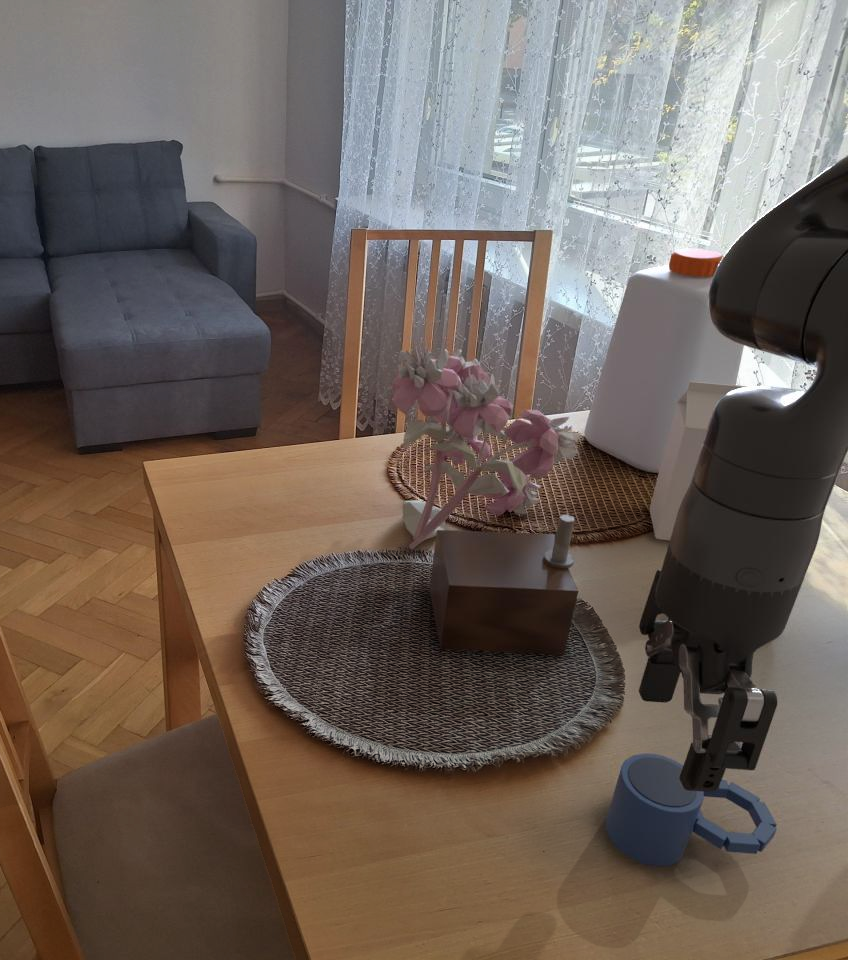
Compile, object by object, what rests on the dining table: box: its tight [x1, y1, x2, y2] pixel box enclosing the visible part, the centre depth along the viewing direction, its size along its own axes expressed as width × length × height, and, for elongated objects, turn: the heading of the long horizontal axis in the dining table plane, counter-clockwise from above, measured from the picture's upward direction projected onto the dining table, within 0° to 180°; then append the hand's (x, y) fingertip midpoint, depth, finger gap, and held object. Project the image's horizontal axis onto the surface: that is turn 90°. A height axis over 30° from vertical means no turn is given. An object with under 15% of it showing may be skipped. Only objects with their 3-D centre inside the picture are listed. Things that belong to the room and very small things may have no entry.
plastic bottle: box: [583, 247, 745, 474], centre depth 116 cm, size 15×15×28 cm
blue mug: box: [605, 752, 777, 867], centre depth 65 cm, size 11×6×6 cm, turn 83°
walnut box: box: [429, 514, 579, 656], centre depth 87 cm, size 13×10×13 cm
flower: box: [391, 340, 583, 550], centre depth 102 cm, size 20×22×25 cm
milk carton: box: [649, 381, 750, 542], centre depth 100 cm, size 7×7×19 cm
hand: (673, 740), depth 62 cm, fingers open, 8 cm apart
